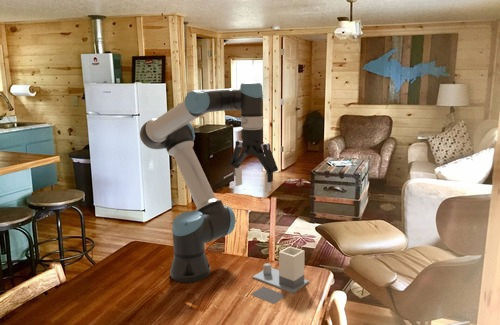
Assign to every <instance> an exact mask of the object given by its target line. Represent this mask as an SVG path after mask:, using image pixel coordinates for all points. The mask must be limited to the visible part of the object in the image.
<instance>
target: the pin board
mask: <svg viewBox="0 0 500 325" xmlns="http://www.w3.org/2000/svg"><path fill="white" fill-rule="evenodd" d="M262 265H263V267H262V268H263V270H261V271H260V272H258V273H256V274H255V275H253V276H252V278H253V279H254V280H257V281H259V282H261V283H265V284H267V285H270V286H272V287H275V288H278V289H280V290H283V291H285V292H288V293H291V294H294V293H297V291H299V290H300V289H301V288H304V286H306V285H308V284H309V283H310V280H308V279H305V278H304V283H302V284H301V285H299V286H298V287H296V288H295V289H292V288H290V287H287V286H284V285H282V284H279V269H276V268H273V267H272V264H271V263H270V262H269V263H266V262H265V263H263V264H262Z"/></svg>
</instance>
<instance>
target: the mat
mask: <svg viewBox="0 0 500 325" xmlns="http://www.w3.org/2000/svg"><path fill="white" fill-rule="evenodd" d="M250 295H251V296H254V297H256V298H258V299H260V300H262V301H265V302H268V303H270V304H272V305H275V304H276V303H278V302H280V301H281V300H283V298H285V297H287V295H286V294H284V293H281V292H279V291H276V290H273V289H272V288H269V287H266V286H261V287H260V288H258V289H256V290H255V291H253V292H252V293H250Z"/></svg>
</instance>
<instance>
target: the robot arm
mask: <svg viewBox="0 0 500 325" xmlns="http://www.w3.org/2000/svg"><path fill="white" fill-rule="evenodd" d="M263 101H264V92H263V85H262V83H260V82H244V83H243V82H242V83H241V84H240V87H239V88H229V87H226V88H225V87H224V88H218V89H217V88H216V89H214V88H213V89H195V90H191V91H188V92H187V93H186V96H185V98H184V100H183V101H182V102H180V103H179V104H177V105H175V106H174V107H172V108H171V109H169V110H168V111H166V112H165V113H163V114H162V115H160V116H159V117H157V118H151V119H149V120H148V121H147V122H144V124H143V125H142V126H141V128H140V130H139V138H140V141H141V142H142V144H143V145H145V147H147V148H148V149H152V150H163V149H165V150H166V152H167V154H168V155H169V156H171V157H173V158H174V160H175V163H176V165H177V166H178V170H179V171H180V174H181V176H182V178H183V180H184V183H185V185H186V187H187V189H188V190H189V194H190V195H191V198H192V200H193V203H194V204H195V207H196V209H195V210H190V211H189V210H188V211H184V212H181V213H180V214H179V213H178V214H177V215H176V216H175V217H174V218H173V220H172V228H171V232H172V245H173V246H172V247H173V260H172V264H171V267H170V269H169V272H170V278H171V279H173V280H174V281H176V282H178V283H184V284H185V283H186V284H187V283H189V284H190V283H197V282H199V281H203V280H205V279H206V278H208V277H209V276H210V274H211V265H210V263H209V261H208V260H209V259H208V258H207V255H206V249H205V246H206V245H205V244H207V243H210V242H213V241H215V240H218V239H220V238H225V237H226V236H228V235H230V234H231V233H233V231H234V229H235V226H236V215H235V212H234V211H233V208H232V207H230V206H229V205H225V204H224V203H223V202H222V199H220V198H217V197H216V195H215V193H214V191H213V189H212V187H211V184H210V183H209V182H210V181H208V177H207V176H206V174H205V172H204V170H203V168H202V165H201V163H200V161H199V159H198V156H197V154H196V153H195V151H194V150H195V149H194V148H193V147H194V144H195V143H194V141H195V138H196V135H195V134H196V132H195V128H194V126H193V124H192V123H191V122H193V121H195V120H196V119H198V118H200V117H202V116H203V115H205V114H207V113H212V112H213V113H215V112H223V111H240V122H241V124H240V126H241V128H242V129H241V131H240V135H241V140H236V141H235V146H234V149H233V152H232V155H231V158H230V160H229V163H228V164H229V166H232V167H233V175H234V177H235V180H234V181H235V187H238V186H242V185H243V171H242V170H243V167H242V164H243V162H244V161H245V159H246V158H247V156H253V157H256V158H257V159H258V160H259V162H260V164H261V165H262V167H263V169H264V170H265V172H264V192H265V193H268V192H270V191H271V192H272V183H273V181H274V173H275V172H278V171H279V168H278V166H277V163H276V161H275V157H274V155H273V152H272V150H271V149H272V148H271V144H270V143H263V139H264V129H263V127H264V114H263V113H264V112H263V111H264V109H263V108H264V105H263V104H264V103H263Z"/></svg>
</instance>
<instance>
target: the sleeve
mask: <svg viewBox="0 0 500 325" xmlns="http://www.w3.org/2000/svg"><path fill="white" fill-rule="evenodd" d="M305 253H306V252H305V250H304V249H301V248H296V247H293V246H288V247H286V248H284V249H282V250H280V251H279V252H278V270H279V284H282V285H284V286H287V287H290V288H292V289H295V288H296V287H298V286H299V285H301V284H302V283H304V279H305Z"/></svg>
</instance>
